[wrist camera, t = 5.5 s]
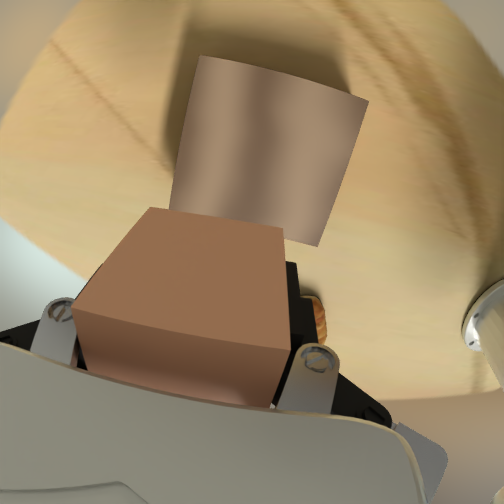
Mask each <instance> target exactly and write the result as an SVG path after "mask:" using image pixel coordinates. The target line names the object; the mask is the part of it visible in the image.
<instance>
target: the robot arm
mask: <svg viewBox="0 0 504 504" xmlns="http://www.w3.org/2000/svg"><path fill="white" fill-rule="evenodd" d="M285 262H286V277H287V292H288V308H289V325H290V343H291V351H290V354H289V357H288V359H287V362H286V365H285V368H284V370H283V373H282V376H281V379H280V381H279V384H278V387H277V389H276V392H275V394H274V397H273V400H272V402H271V403H272V404H274V405H275V408H274V409H272V408H263V407H254V406H247V405H239V404H233V403H226V402H220V401H214V400H208V399H202V398H197V397H191V396H186V395H181V394H176V393H171V392H167V391H162V390H158V389H153V388H149V387H145V386H141V385H137V384H133V383H129V382H125V381H121V380H118V379H114V378H110V377H107V376H103V375H100V374H96V373H93V372H90V371H88V369H87V366H86V363H85V360H84V356H83V353H82V349H81V346H80V342H79V339H78V335H77V331H76V328H75V324H74V320H73V316H72V311H71V306H72V304H73V303H74V302H75V300H76V299H77V297H78V296H79V295H80V293H81V292H82V291H83V289H84V288H85V287H86V285H87V284H88V283H89V281H90V280H91V279H92V277H93V276H94V275H95V273H96V272H97V271H98V269H99V268H100V267H101V266H102V265H100V267H99V268H98V269H97V271H96V272H95V273H94V274H93V276H92V277H91V278H90V280H89V281H88V282H87V284H86V285H85V286H84V288H83V289H82V290H81V292H80V293H79V294H78V296H77V297H76V298H75V299H73V298H68V297H65V298H59V299H55V300H54V301H52V302H50V303H49V304H48V305H47V306H46V308H45V309H44V311H43V314H42V317H41V319H40V320H37V321H34V322H30V323H27V324H24V325H21V326H18V327H15V328H12V329H8V330H5V331H2V332H0V504H431V502H432V500H433V497H434V495H435V493H436V491H437V488H438V486H439V484H440V481H441V479H442V477H443V474H444V472H445V469H446V467H447V463H448V457H447V453H446V452H445V450H444V449H443V448H442V447H441V446H440V445H438V444H436V443H435V442H433V441H431V440H429V439H427V438H426V437H424V436H422V435H421V434H419V433H417V432H416V431H414V430H412V429H410V428H409V427H407V426H405V425H403V424H402V423H400V422H399V423H398V424H395V423H393V422H392V418H391V415H390V414H389V412H388V410H386V408H385V407H384V406H382V405H381V404H380V403H378V402H377V401H376V400H374V399H373V398H372V397H370V396H369V395H368V394H366V393H365V392H364V391H362V390H361V389H360V388H358V387H357V386H356V385H354V384H353V383H352V382H351V381H349V380H348V379H347V378H345V377H344V376H343V375H341V374H340V373H339V367H340V360H339V358H338V356H337V354H336V353H335V352H334V351H333V350H332V349H330V348H329V347H327V346H325V345H322V344H319V341H318V335H317V328H316V321H315V315H314V308H313V302H312V299H311V298H304V297H300V289H299V281H298V273H297V265H296V263H294V262H288V261H285ZM462 337H463V340H464V342H465V344H466V345H467V347H468V348H470V349H471V350H474V351H482V352H483V353H484V355H485V357H486V359H487V361H488V363H489V364H490V366H491V368H492V370H493V372H494V374H495V376H496V378H497V379H498V381H499V383H500V385H501V387H502V389H503V391H504V279H503V280H501V281H499V282H497V283H496V284H494V285H493V286H491V287H490V288H489V289H488V290H486V291H485V292H484V293H483V294H482V295H481V296H480V297H479V298H478V300H477V301H476V302H475V303H474V305H473V306H472V308H471V309H470V311H469V313H468V315H467V317H466V319H465V321H464V324H463V329H462ZM490 504H504V487H502V488H501V489H500V490H499V491H498V492H497V493H496V494H495V495H494V497H493V498H492V500H491V502H490Z"/></svg>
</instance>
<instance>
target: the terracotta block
mask: <svg viewBox="0 0 504 504" xmlns="http://www.w3.org/2000/svg"><path fill="white" fill-rule="evenodd" d="M71 311H72V316H73V320H74V324H75V328H76V331H77V335H78V339H79V342H80V346H81V349H82V353H83V356H84V360H85V363H86V366H87V369H88V371H90V372H93V373H96V374H100V375H103V376H107V377H110V378H114V379H118V380H121V381H125V382H129V383H133V384H137V385H141V386H145V387H149V388H153V389H158V390H162V391H167V392H171V393H176V394H181V395H186V396H191V397H197V398H202V399H208V400H214V401H220V402H226V403H233V404H239V405H247V406H254V407H263V408H269V407H270V405H271V402H272V400H273V397H274V394H275V392H276V389H277V387H278V384H279V381H280V379H281V376H282V373H283V370H284V368H285V365H286V362H287V359H288V357H289V354H290V351H291V343H290V325H289V308H288V292H287V277H286V262H285V249H284V235H283V228H280V227H274V226H269V225H263V224H257V223H251V222H245V221H238V220H232V219H226V218H220V217H214V216H207V215H201V214H194V213H188V212H181V211H175V210H168V209H161V208H154V207H150V208H149V209H148V210H147V211H146V212H145V213H144V215H143V216H142V217H141V218H140V219H139V220H138V222H137V223H136V224H135V225H134V226H133V227H132V229H131V230H130V231H129V232H128V233H127V235H126V236H125V237H124V238H123V239H122V241H121V242H120V243H119V244H118V246H117V247H116V248H115V249H114V251H113V252H112V253H111V254H110V256H109V257H108V258H107V259H106V261H105V262H104V263H103V264H102V266H101V267H100V268H99V269H98V271H97V272H96V273H95V275H94V276H93V277H92V279H91V280H90V281H89V283H88V284H87V285H86V287H85V288H84V289H83V291H82V292H81V293H80V295H79V296H78V297H77V299H76V300H75V302H74V303H73V304H72V306H71Z"/></svg>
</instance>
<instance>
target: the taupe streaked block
mask: <svg viewBox="0 0 504 504" xmlns="http://www.w3.org/2000/svg"><path fill="white" fill-rule="evenodd" d="M368 103H369V101H367V100H365V99H362V98H360V97H357V96H354V95H352V94H349V93H346V92H343V91H340V90H338V89H335V88H332V87H329V86H326V85H323V84H320V83H316V82H313V81H310V80H307V79H303V78H300V77H297V76H293V75H289V74H286V73H282V72H278V71H275V70H271V69H267V68H263V67H258V66H254V65H250V64H245V63H241V62H236V61H231V60H226V59H221V58H215V57H210V56H204V55H200V56H199V59H198V63H197V67H196V71H195V76H194V80H193V84H192V88H191V93H190V97H189V102H188V106H187V111H186V116H185V120H184V125H183V130H182V135H181V140H180V145H179V151H178V156H177V162H176V167H175V173H174V179H173V185H172V191H171V198H170V204H169V210H175V211H181V212H188V213H194V214H201V215H207V216H214V217H220V218H226V219H232V220H238V221H245V222H251V223H257V224H263V225H269V226H274V227H280V228H283V235H284V239H288V240H292V241H296V242H300V243H304V244H308V245H312V246H315V247H318V244H319V242H320V239H321V236H322V234H323V231H324V229H325V226H326V223H327V221H328V218H329V215H330V213H331V210H332V207H333V205H334V202H335V199H336V197H337V194H338V191H339V188H340V186H341V183H342V180H343V177H344V174H345V172H346V169H347V166H348V163H349V160H350V157H351V154H352V151H353V148H354V146H355V143H356V140H357V137H358V134H359V131H360V128H361V125H362V121H363V118H364V115H365V112H366V109H367V106H368Z"/></svg>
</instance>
